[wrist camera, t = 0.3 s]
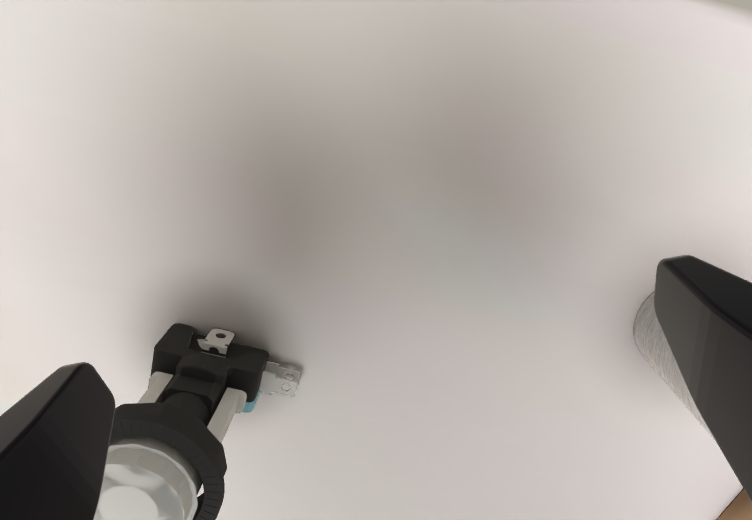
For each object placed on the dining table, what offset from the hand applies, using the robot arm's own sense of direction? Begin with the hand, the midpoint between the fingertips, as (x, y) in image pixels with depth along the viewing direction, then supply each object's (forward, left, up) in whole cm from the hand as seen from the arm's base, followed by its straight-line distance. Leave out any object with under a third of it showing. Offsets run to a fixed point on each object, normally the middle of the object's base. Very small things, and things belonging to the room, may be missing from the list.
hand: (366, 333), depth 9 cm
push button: (-12, +2, -16) cm, 20 cm away
